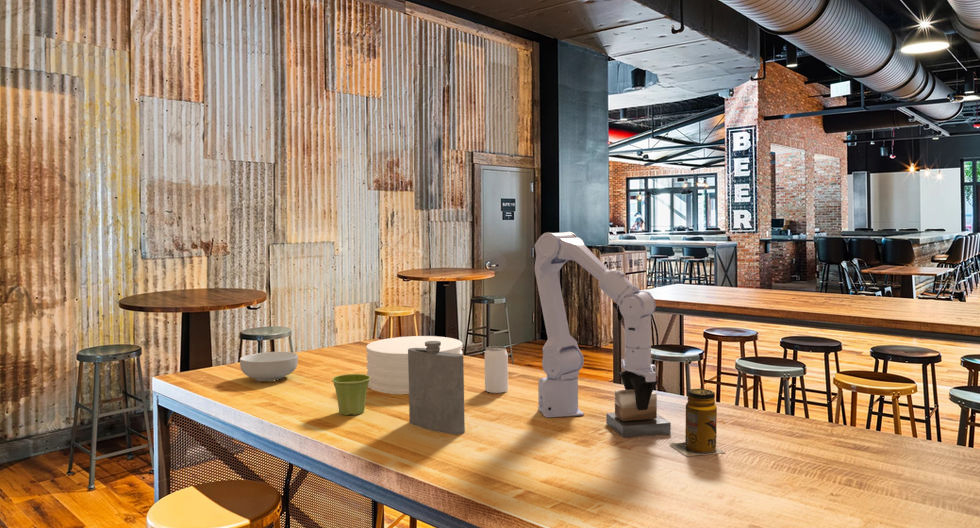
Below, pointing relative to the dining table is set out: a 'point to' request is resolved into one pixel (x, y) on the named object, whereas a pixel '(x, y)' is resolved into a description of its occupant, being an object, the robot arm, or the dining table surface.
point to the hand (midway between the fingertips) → (637, 406)
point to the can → (496, 369)
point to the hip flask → (436, 389)
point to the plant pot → (351, 392)
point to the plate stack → (399, 360)
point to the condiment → (700, 424)
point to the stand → (638, 426)
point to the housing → (633, 406)
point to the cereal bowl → (269, 365)
